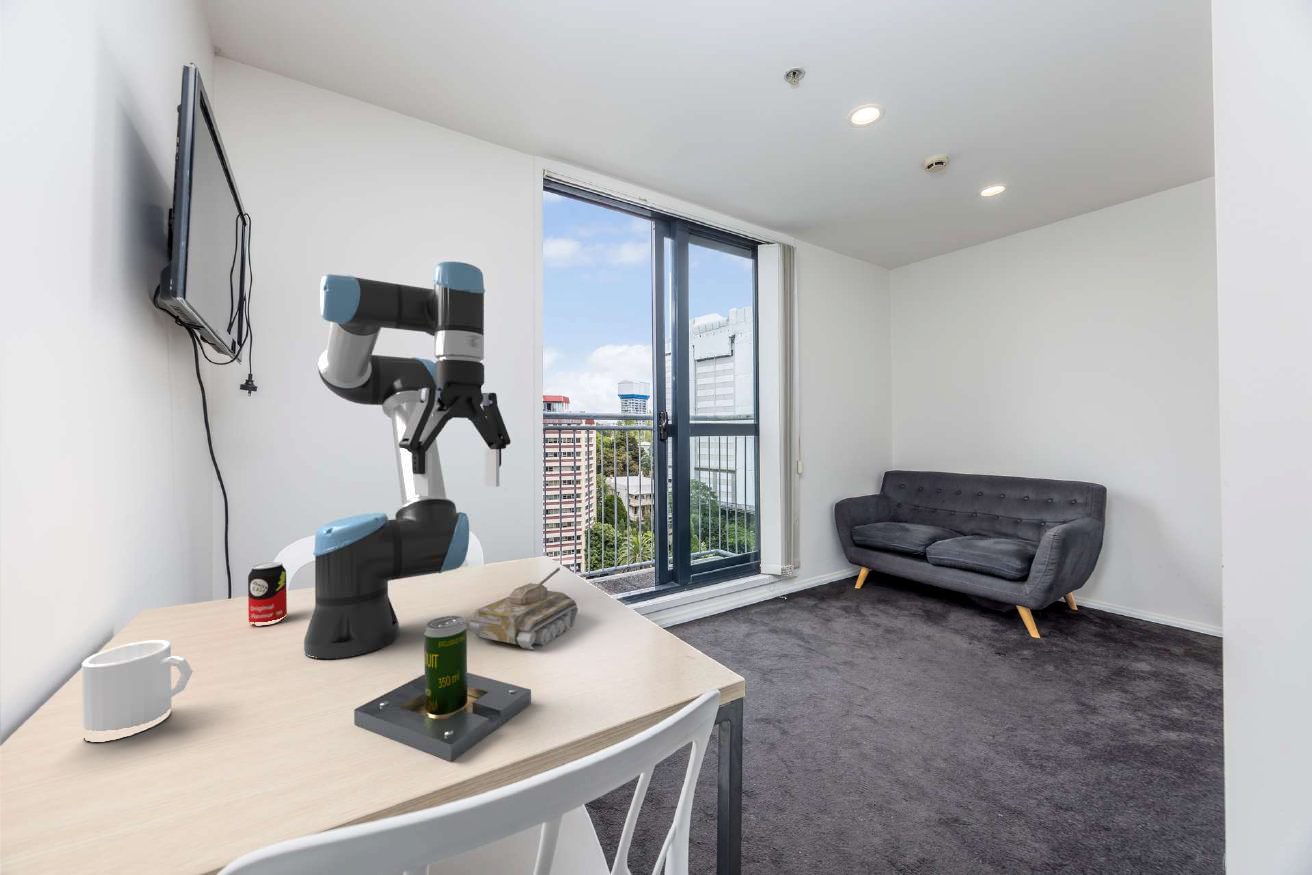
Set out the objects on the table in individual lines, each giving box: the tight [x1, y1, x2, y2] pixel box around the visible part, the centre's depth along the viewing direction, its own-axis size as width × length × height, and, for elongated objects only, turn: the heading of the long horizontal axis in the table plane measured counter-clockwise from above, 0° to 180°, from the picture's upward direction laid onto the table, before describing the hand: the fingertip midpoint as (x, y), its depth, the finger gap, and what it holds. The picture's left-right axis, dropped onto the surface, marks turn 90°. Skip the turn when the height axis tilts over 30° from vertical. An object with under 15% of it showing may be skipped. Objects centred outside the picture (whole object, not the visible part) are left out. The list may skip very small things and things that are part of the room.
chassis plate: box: [353, 672, 532, 763], centre depth 68 cm, size 18×14×2 cm
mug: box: [81, 639, 194, 731], centre depth 67 cm, size 8×12×10 cm
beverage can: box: [247, 561, 288, 623], centre depth 104 cm, size 6×6×12 cm
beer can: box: [423, 615, 468, 720], centre depth 68 cm, size 5×5×12 cm
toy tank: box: [468, 566, 579, 651], centre depth 99 cm, size 15×20×10 cm
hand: (460, 490), depth 82 cm, fingers open, 13 cm apart
